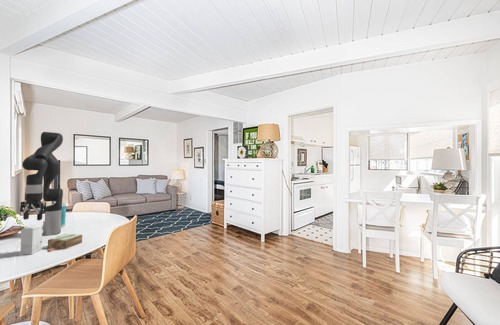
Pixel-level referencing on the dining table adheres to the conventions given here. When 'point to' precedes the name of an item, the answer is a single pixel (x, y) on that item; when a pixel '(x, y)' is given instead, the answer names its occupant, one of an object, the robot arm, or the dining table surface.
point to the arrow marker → (52, 249)
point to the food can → (62, 214)
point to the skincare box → (31, 239)
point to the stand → (65, 241)
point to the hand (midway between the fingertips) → (32, 219)
